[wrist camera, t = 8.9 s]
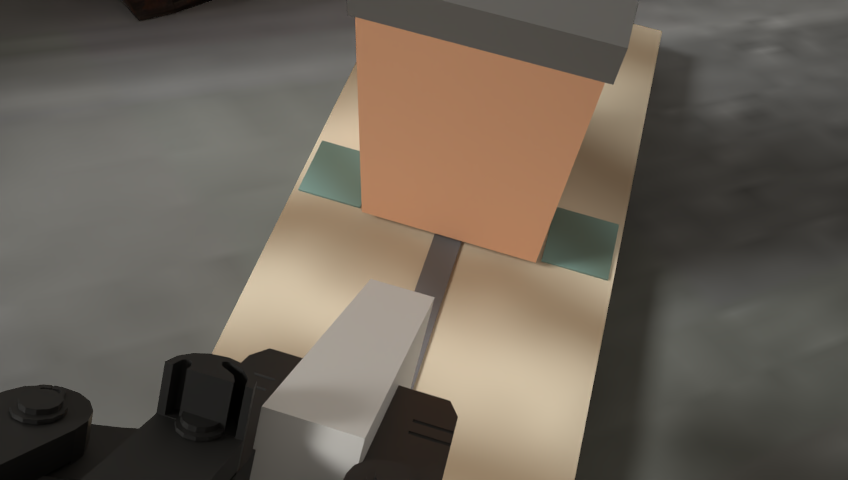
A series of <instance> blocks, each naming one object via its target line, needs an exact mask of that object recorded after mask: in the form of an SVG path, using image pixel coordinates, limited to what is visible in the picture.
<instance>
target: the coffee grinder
mask: <svg viewBox="0 0 848 480" xmlns="http://www.w3.org/2000/svg"><path fill="white" fill-rule="evenodd" d="M122 1H123V3H124V4H125V5H126V6H127V7H128V8H129V9H130V10H131V12H132V13H133V14H134V15H135V16H136V17H137V18H138V20H139V21H140V20H145V19H150V18H155V17H159V16H164V15H168V14H173V13H176V12H179V11H182V10H185V9H188V8H191V7H194V6H197V5H200V4H203V3H206V2H209V1H212V0H122Z"/></svg>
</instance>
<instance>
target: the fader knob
mask: <svg viewBox="0 0 848 480" xmlns="http://www.w3.org/2000/svg"><path fill="white" fill-rule="evenodd" d="M638 2H639V0H347V12H348V15H349V16H353V17H355V27H356V56H357V86H358V115H359V144H360V174H361V203H362V212H364V213H367V214H370V215H374V216H377V217H381V218H384V219H388V220H391V221H394V222H398V223H401V224H405V225H408V226H411V227H415V228H418V229H422V230H425V231H429V232H432V233H435V234H439V235H442V236H446V237H449V238H452V239H456V240H459V241H463V242H466V243H470V244H473V245H476V246H480V247H483V248H487V249H490V250H493V251H497V252H500V253H504V254H507V255H511V256H514V257H517V258H521V259H524V260H528V261H531V262H535V263H536V260H537V258H538V255H539V253H540V250H541V248H542V245H543V242H544V240H545V237H546V235H547V232H548V229H549V227H550V224H551V222H552V219H553V216H554V214H555V211H556V209H557V206H558V203H559V201H560V198H561V196H562V193H563V191H564V188H565V185H566V183H567V180H568V178H569V175H570V172H571V170H572V167H573V165H574V162H575V159H576V157H577V154H578V152H579V149H580V147H581V144H582V141H583V139H584V136H585V134H586V131H587V128H588V126H589V123H590V121H591V118H592V115H593V113H594V110H595V108H596V105H597V102H598V100H599V97H600V95H601V92H602V90H603V87H604V84H605V83H608V84H612V85H613V84H614V82H615V79H616V77H617V74H618V72H619V69H620V67H621V64H622V62H623V59H624V57H625V54H626V52H627V49H628V46H629V41H630V37H631V33H632V28H633V24H634V19H635V15H636V10H637V6H638Z"/></svg>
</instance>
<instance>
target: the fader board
mask: <svg viewBox="0 0 848 480" xmlns="http://www.w3.org/2000/svg"><path fill="white" fill-rule="evenodd" d="M661 34H662V31H659V30H655V29H651V28H647V27H644V26H640V25H636V24H633V28H632V33H631V37H630V41H629V46H628V49H627V52H626V54H625V57H624V59H623V62H622V64H621V67H620V69H619V72H618V74H617V77H616V79H615V82H614V84H613V85H612V84H608V83H605V84H604V87H603V90H602V92H601V95H600V97H599V100H598V102H597V105H596V108H595V110H594V113H593V115H592V118H591V121H590V123H589V126H588V128H587V131H586V134H585V136H584V139H583V141H582V144H581V147H580V149H579V152H578V154H577V157H576V159H575V162H574V165H573V167H572V170H571V172H570V175H569V178H568V180H567V183H566V185H565V188H564V191H563V193H562V196H561V198H560V201H559V203H558V206H557V209H556V211H555V214H554V216H553V219H552V222H551V224H550V227H549V229H548V232H547V235H546V237H545V240H544V242H543V245H542V248H541V250H540V253H539V255H538V258H537V260H536V263H535V262H531V261H528V260H524V259H521V258H517V257H514V256H511V255H507V254H504V253H500V252H497V251H493V250H490V249H487V248H483V247H480V246H476V245H473V244H470V243H466V242H463V241H459V240H456V239H452V238H449V237H446V236H442V235H439V234H435V233H432V232H429V231H425V230H422V229H418V228H415V227H411V226H408V225H405V224H401V223H398V222H394V221H391V220H388V219H384V218H381V217H377V216H374V215H370V214H367V213H364V212H362V203H361V174H360V144H359V115H358V86H357V62H356V64H355V66H354V68H353V70H352V72H351V74H350V76H349V78H348V80H347V82H346V84H345V86H344V88H343V90H342V92H341V94H340V96H339V98H338V100H337V102H336V104H335V106H334V108H333V110H332V112H331V114H330V116H329V118H328V120H327V122H326V124H325V126H324V128H323V130H322V133H321V135H320V137H319V139H318V141H317V143H316V145H315V147H314V149H313V151H312V153H311V155H310V157H309V159H308V161H307V163H306V165H305V167H304V169H303V171H302V173H301V175H300V177H299V179H298V181H297V183H296V185H295V187H294V189H293V191H292V193H291V195H290V197H289V199H288V201H287V203H286V205H285V207H284V209H283V211H282V213H281V215H280V217H279V219H278V221H277V223H276V225H275V227H274V229H273V231H272V233H271V235H270V238H269V240H268V242H267V244H266V246H265V248H264V250H263V252H262V254H261V256H260V258H259V260H258V262H257V264H256V266H255V268H254V270H253V272H252V274H251V276H250V278H249V280H248V282H247V284H246V286H245V288H244V290H243V292H242V294H241V296H240V298H239V300H238V302H237V304H236V306H235V308H234V310H233V312H232V314H231V316H230V318H229V320H228V322H227V324H226V326H225V328H224V330H223V332H222V334H221V336H220V338H219V340H218V342H217V345H216V347H215V349H214V351H213V353H212V354H215V355H219V356H224V357H229V358H231V359H234V360H236V361H238V362H242V361H243V360H244V359H245V358H246V357H248V356H249V355H251V354H254V353H257V352H260V351H263V350H266V349H269V348H271V349H274V350H278V351H281V352H284V353H287V354H291V355H294V356H297V357H301V358H303V357H304V356H305V355H306V354H307V353H308V352H309V350H310V349H311V348H312V347H313V346H314V345H315V343H316V342H317V341H318V340H319V339H320V338H321V336H322V335H323V334H324V333H325V332H326V331H327V329H328V328H329V327H330V326H331V325H332V324H333V322H334V321H335V320H336V319H337V318H338V317H339V315H340V314H341V313H342V312H343V311H344V310H345V308H346V307H347V306H348V305H349V304H350V303H351V301H352V300H353V299H354V298H355V297H356V296H357V294H358V293H359V292H360V291H361V290H362V289H363V287H364V286H365V285H366V284H367V283H368V282H369V280H370V279H373V280H376V281H380V282H383V283H387V284H390V285H394V286H397V287H401V288H404V289H408V290H411V291H414V292H418V293H421V294H425V295H428V296H432V297H435V298H434V302H433V305H432V309H431V313H430V317H429V321H428V324H427V328H426V332H425V336H424V339H423V343H422V347H421V351H420V355H419V358H418V362H417V366H416V370H415V373H414V377H413V381H412V385H411V389H413V390H416V391H420V392H423V393H426V394H429V395H433V396H436V397H439V398H443V399H446V400H449V401H451V403H452V405H453V407H454V410H455V412H456V414H457V416H458V419H457V423H456V427H455V431H454V434H453V439H452V443H451V446H450V451H449V455H448V459H447V463H446V467H445V470H444V474H443V478H442V480H575V475H576V470H577V465H578V460H579V454H580V449H581V444H582V439H583V434H584V429H585V424H586V418H587V413H588V408H589V403H590V398H591V393H592V388H593V383H594V377H595V372H596V367H597V362H598V357H599V352H600V347H601V342H602V336H603V331H604V326H605V321H606V316H607V311H608V306H609V301H610V295H611V290H612V285H613V280H614V275H615V270H616V265H617V259H618V254H619V249H620V244H621V239H622V234H623V229H624V224H625V218H626V213H627V208H628V203H629V198H630V193H631V188H632V183H633V177H634V172H635V167H636V162H637V157H638V152H639V147H640V141H641V136H642V131H643V126H644V121H645V116H646V111H647V106H648V100H649V95H650V90H651V85H652V80H653V75H654V70H655V65H656V59H657V54H658V49H659V44H660V39H661Z"/></svg>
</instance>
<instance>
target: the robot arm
mask: <svg viewBox="0 0 848 480" xmlns="http://www.w3.org/2000/svg"><path fill="white" fill-rule="evenodd" d="M434 298H435V297H432V296H428V295H425V294H421V293H418V292H414V291H411V290H408V289H404V288H401V287H397V286H394V285H390V284H387V283H383V282H380V281H376V280H373V279H370V280H369V282H368V283H367V284H366V285H365V286H364V287H363V289H362V290H361V291H360V292H359V293H358V294H357V296H356V297H355V298H354V299H353V300H352V301H351V303H350V304H349V305H348V306H347V307H346V308H345V310H344V311H343V312H342V313H341V314H340V315H339V317H338V318H337V319H336V320H335V321H334V322H333V324H332V325H331V326H330V327H329V328H328V329H327V331H326V332H325V333H324V334H323V335H322V336H321V338H320V339H319V340H318V341H317V342H316V343H315V345H314V346H313V347H312V348H311V349H310V350H309V352H308V353H307V354H306V355H305V356H304V357H303V358H301V357H297V356H294V355H291V354H287V353H284V352H281V351H278V350H274V349H271V348H269V349H266V350H263V351H260V352H257V353H254V354H251V355H249V356H248V357H246V358H245V359H244V360H243V361H242V362H238V361H236V360H234V359H231V358H229V357H224V356H219V355H215V354H200V353H192V354H186V355H180V356H176V357H174V358H172V359H170V360H168V361H165V366H164V372H163V378H162V384H161V390H160V396H159V402H158V408H157V413H156V414H155V415H154V416H153V417H152V418H151V419H150V420H148V421H147V422H146V423H145V424H144V425H143V426H142V427H140V428H139V429H136V428H120V427H111V426H102V425H94V424H91V422H92V415H93V409H92V406H91V403H90V401H89V400H88V399H86V398H85V397H84V396H83V395H81V394H80V393H78V392H75V391H72V390H69V389H66V388H63V387H59V386H52V385H38V386H23V387H19V388H15V389H11V390H7V391H4V392H1V393H0V480H442V478H443V474H444V470H445V467H446V463H447V459H448V455H449V451H450V446H451V443H452V439H453V434H454V431H455V427H456V423H457V419H458V416H457V414H456V412H455V410H454V407H453V405H452V403H451V401H449V400H446V399H443V398H439V397H436V396H433V395H429V394H426V393H423V392H420V391H416V390H413V389H411V385H412V381H413V377H414V373H415V370H416V366H417V362H418V358H419V355H420V351H421V347H422V343H423V339H424V336H425V332H426V328H427V324H428V321H429V317H430V313H431V309H432V305H433V302H434Z"/></svg>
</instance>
